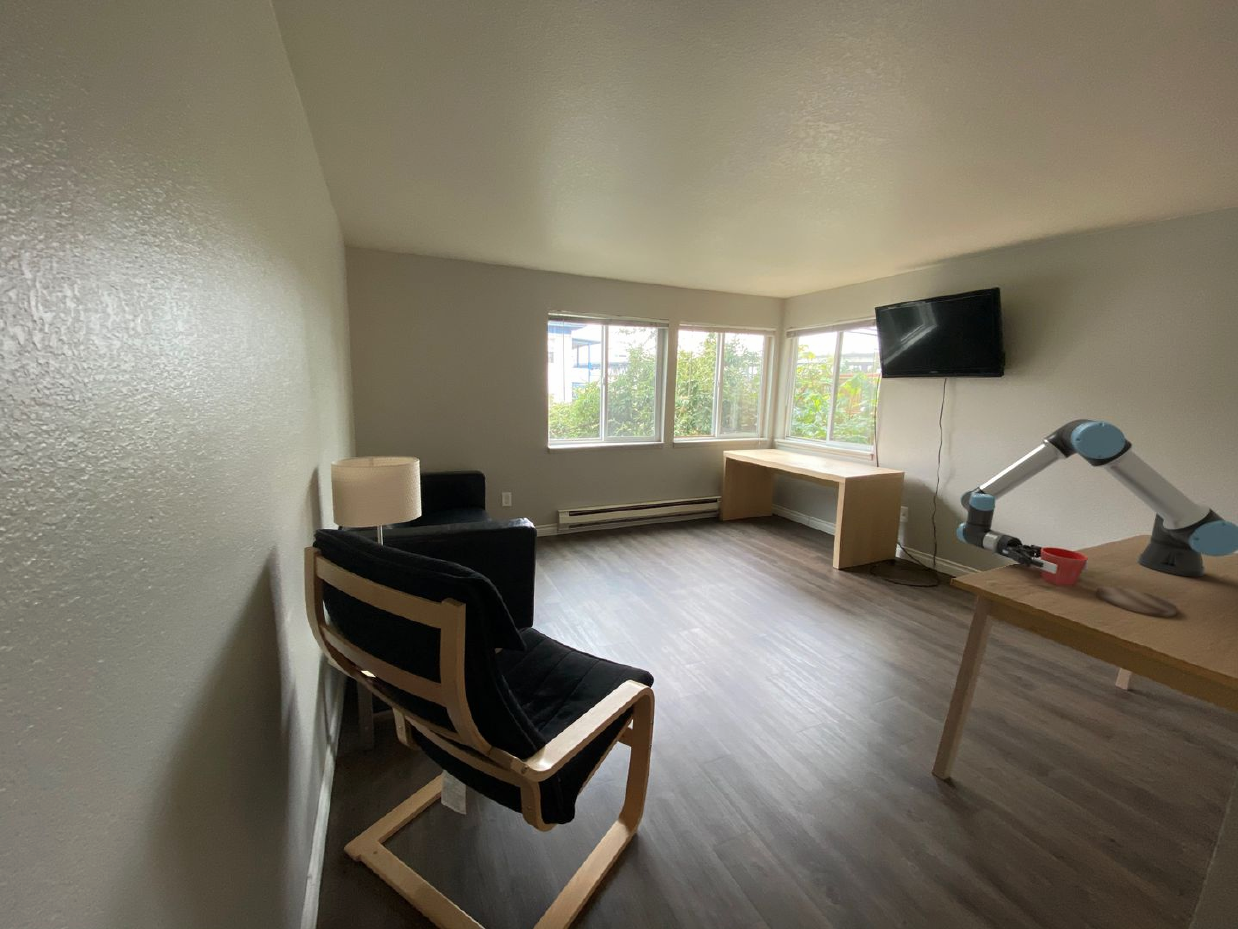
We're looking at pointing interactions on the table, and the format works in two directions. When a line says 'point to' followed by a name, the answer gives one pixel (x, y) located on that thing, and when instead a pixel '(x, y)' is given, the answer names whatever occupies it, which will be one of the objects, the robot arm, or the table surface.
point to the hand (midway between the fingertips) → (1072, 567)
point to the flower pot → (1063, 565)
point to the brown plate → (1136, 601)
